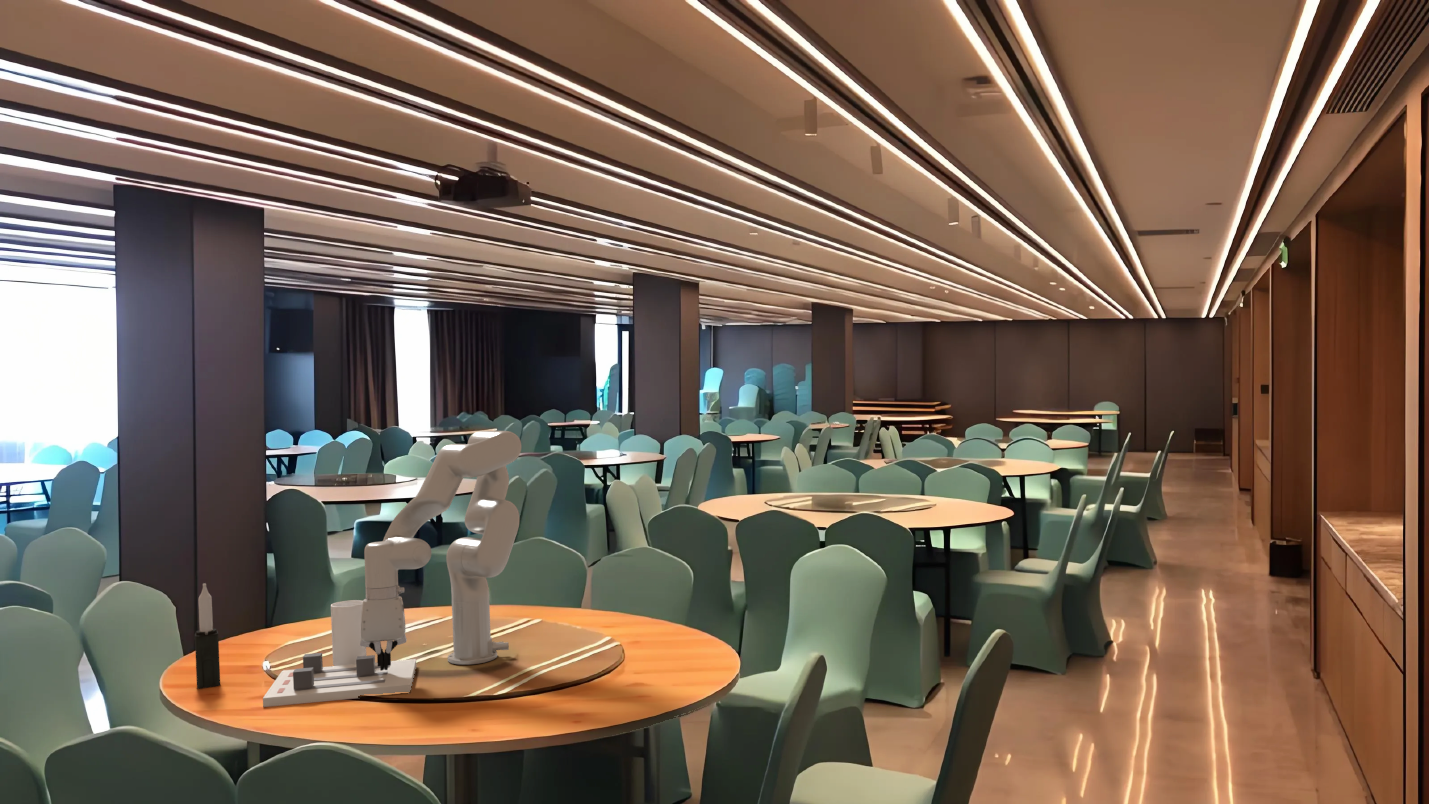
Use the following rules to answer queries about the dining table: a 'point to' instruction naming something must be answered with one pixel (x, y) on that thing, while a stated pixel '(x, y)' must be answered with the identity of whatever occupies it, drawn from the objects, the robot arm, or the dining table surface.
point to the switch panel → (336, 682)
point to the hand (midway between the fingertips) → (384, 668)
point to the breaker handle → (365, 665)
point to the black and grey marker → (206, 645)
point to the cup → (346, 632)
